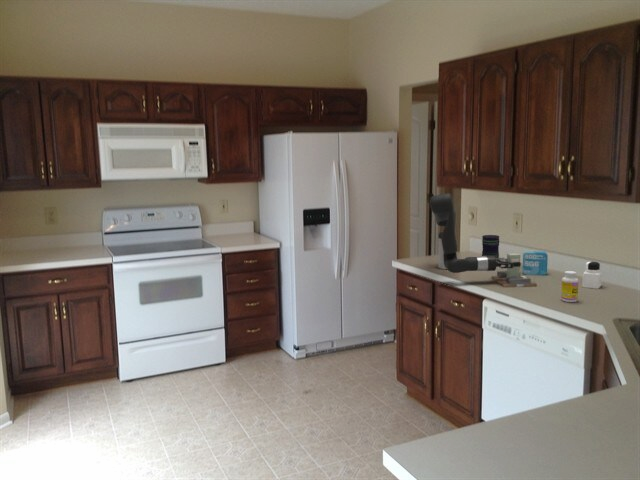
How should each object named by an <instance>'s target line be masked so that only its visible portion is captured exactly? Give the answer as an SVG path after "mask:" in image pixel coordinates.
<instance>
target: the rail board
mask: <svg viewBox="0 0 640 480" xmlns="http://www.w3.org/2000/svg"><path fill="white" fill-rule="evenodd" d="M490 278H491V279H492V280H493V281H495V282H496V283H497V284H499V285H500V286H501V287H503V288H517V287H518V288H521V287H522V288H523V287H525V288H526V287H537V285H538V284H537V283H536V282H534V281H533V280H531V277H529V276H526V275H524V274H520V276H517V277H507V270H497V271H496V275H491V276H490Z"/></svg>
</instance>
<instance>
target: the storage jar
mask: <svg viewBox="0 0 640 480" xmlns="http://www.w3.org/2000/svg"><path fill="white" fill-rule="evenodd" d="M481 237H482V240H481V245H482V251H481V256H495V258H500V251H499V249H500V247H499V246H500V236H499V235H497V234H495V235H494V234H484V235H482V236H481Z"/></svg>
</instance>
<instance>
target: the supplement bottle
mask: <svg viewBox="0 0 640 480" xmlns="http://www.w3.org/2000/svg"><path fill="white" fill-rule="evenodd" d="M576 276H577V272H576V271H572V270H567V271H564V276H563V277H562V278H561V292H560V293H561V295H560V298H561V299H560V300H561V301H563V302H566V303H576V302H578V298H579V296H578V295H579V279H578V278H577V277H576Z"/></svg>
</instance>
